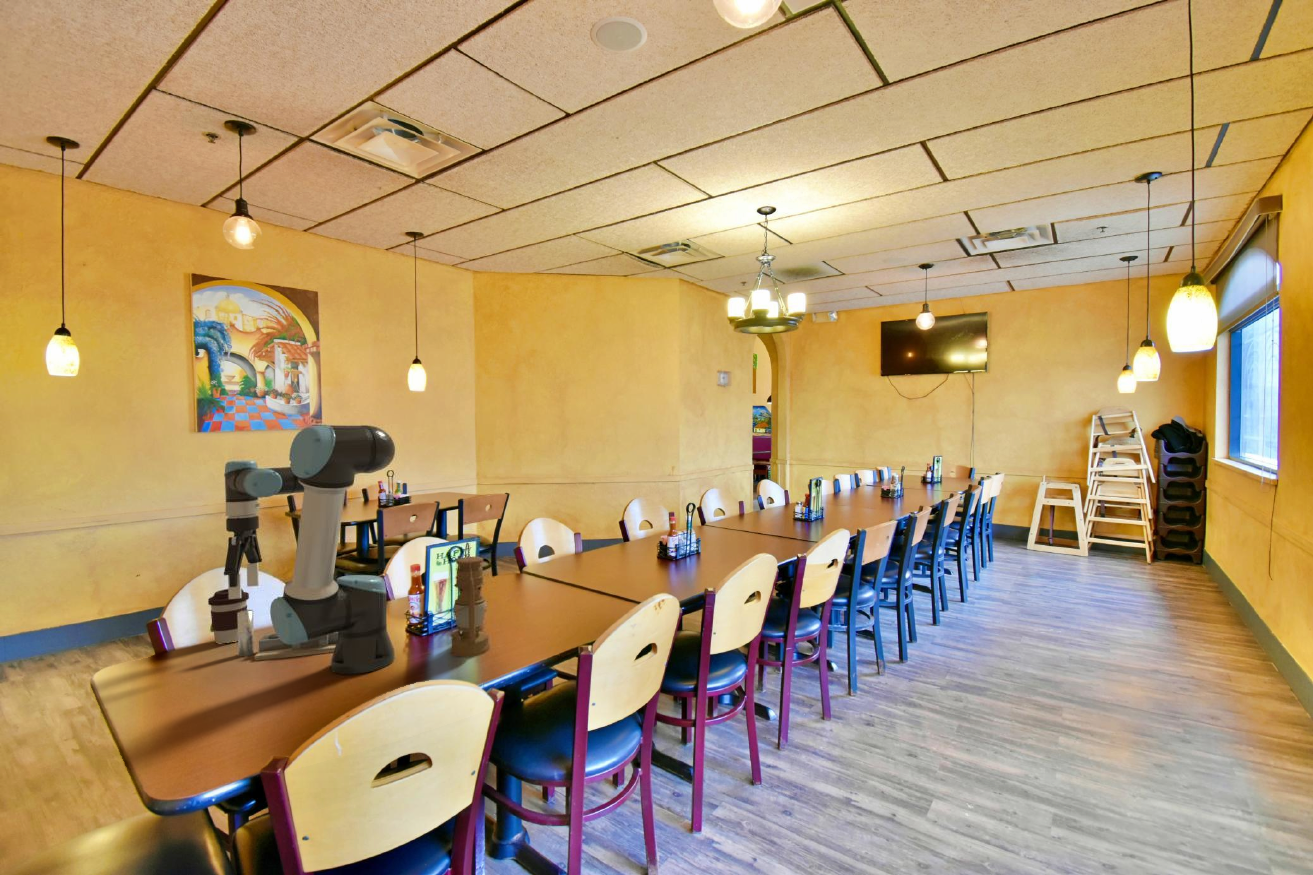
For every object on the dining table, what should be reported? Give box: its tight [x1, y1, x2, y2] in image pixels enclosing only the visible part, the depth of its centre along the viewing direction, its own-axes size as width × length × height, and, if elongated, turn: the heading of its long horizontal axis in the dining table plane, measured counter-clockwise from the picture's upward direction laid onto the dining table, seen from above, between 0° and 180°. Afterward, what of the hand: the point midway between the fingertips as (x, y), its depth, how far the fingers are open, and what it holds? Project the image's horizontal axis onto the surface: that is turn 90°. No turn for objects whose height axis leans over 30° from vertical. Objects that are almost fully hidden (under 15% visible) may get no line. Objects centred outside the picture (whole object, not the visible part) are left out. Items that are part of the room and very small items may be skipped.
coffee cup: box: [207, 588, 250, 643], centre depth 181 cm, size 10×10×15 cm
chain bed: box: [254, 632, 338, 662], centre depth 173 cm, size 12×26×5 cm, turn 107°
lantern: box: [450, 542, 491, 658], centre depth 169 cm, size 15×10×30 cm
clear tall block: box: [237, 609, 255, 657], centre depth 169 cm, size 4×4×12 cm
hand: (244, 592), depth 169 cm, fingers open, 13 cm apart
